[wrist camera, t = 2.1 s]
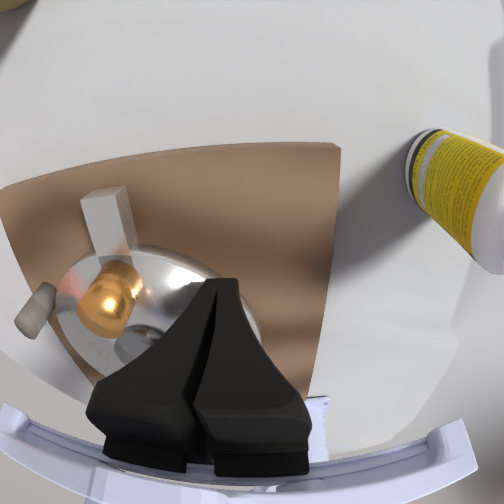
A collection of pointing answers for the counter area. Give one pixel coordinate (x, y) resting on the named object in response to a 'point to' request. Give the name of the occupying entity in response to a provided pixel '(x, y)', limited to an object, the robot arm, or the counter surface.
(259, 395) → the robot arm
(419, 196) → the supplement bottle
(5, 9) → the squeeze bottle
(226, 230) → the post board
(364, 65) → the counter surface
